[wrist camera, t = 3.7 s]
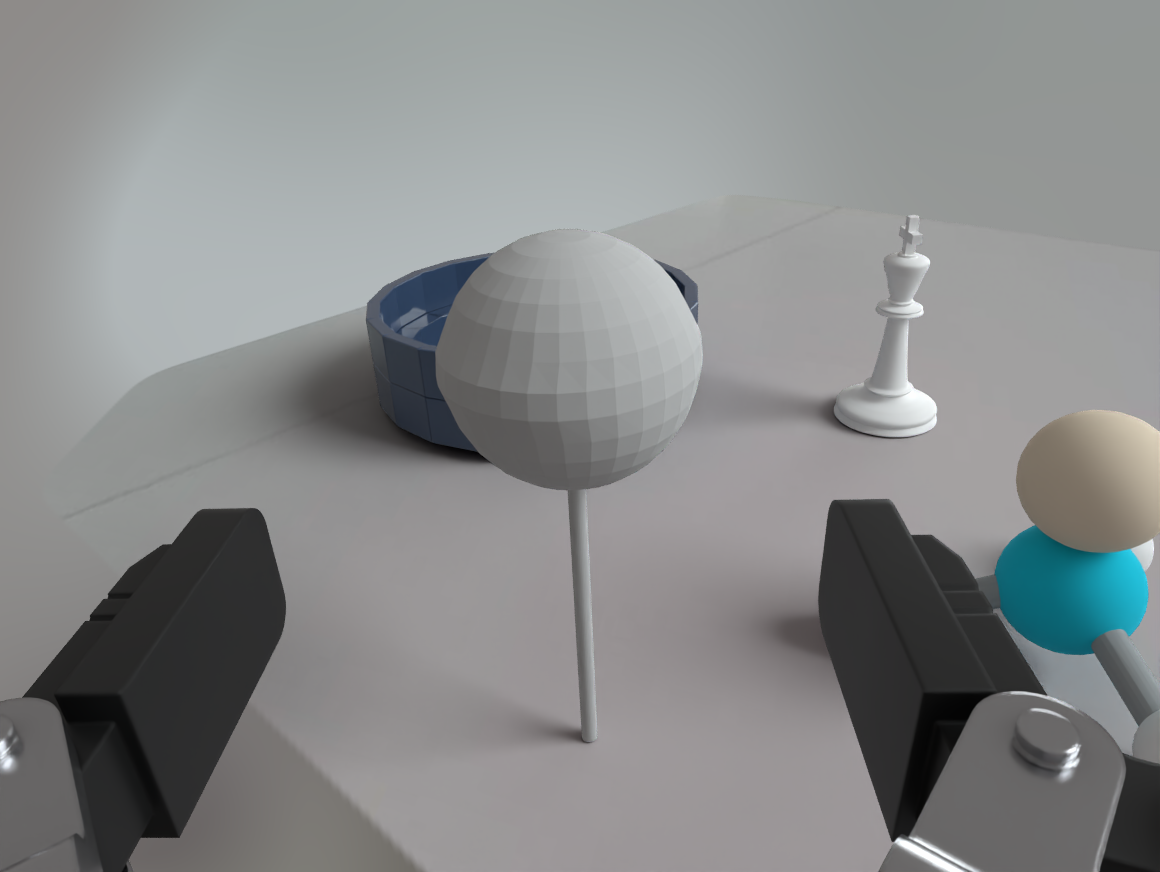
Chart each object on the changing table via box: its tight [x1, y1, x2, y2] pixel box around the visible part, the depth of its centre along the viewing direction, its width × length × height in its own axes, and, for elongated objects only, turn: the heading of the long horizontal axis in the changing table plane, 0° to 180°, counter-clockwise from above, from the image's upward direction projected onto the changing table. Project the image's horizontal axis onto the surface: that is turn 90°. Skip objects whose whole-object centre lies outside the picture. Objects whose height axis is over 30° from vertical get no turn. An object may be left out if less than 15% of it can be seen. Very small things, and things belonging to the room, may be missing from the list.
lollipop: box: [435, 229, 703, 742], centre depth 21 cm, size 6×6×15 cm
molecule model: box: [975, 410, 1160, 764], centre depth 24 cm, size 12×12×9 cm
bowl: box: [366, 253, 698, 452], centre depth 45 cm, size 17×17×6 cm
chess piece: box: [834, 215, 937, 437], centre depth 40 cm, size 5×5×10 cm
